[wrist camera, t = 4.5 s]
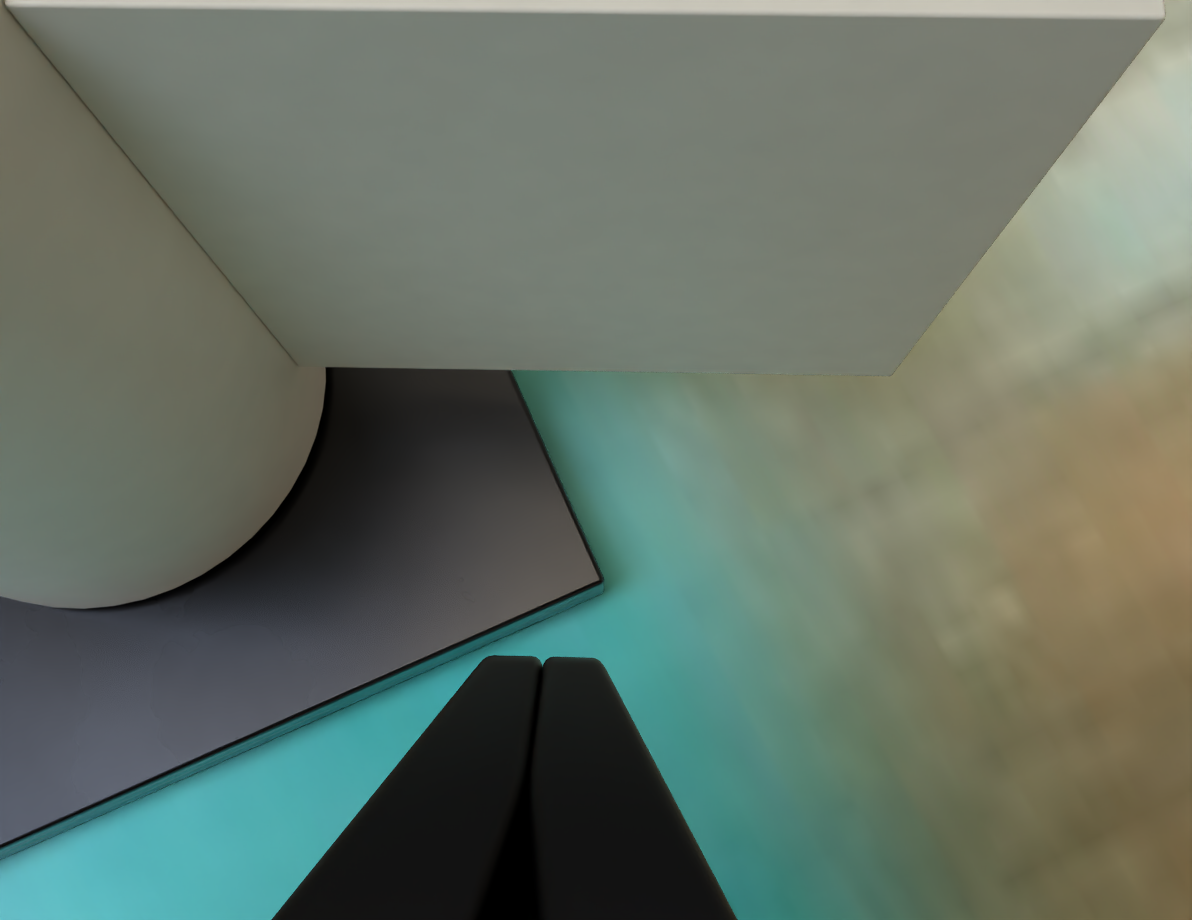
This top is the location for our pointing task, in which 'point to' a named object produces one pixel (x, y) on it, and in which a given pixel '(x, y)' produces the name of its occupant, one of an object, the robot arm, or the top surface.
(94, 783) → the holder
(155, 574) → the towel roll
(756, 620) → the top surface
